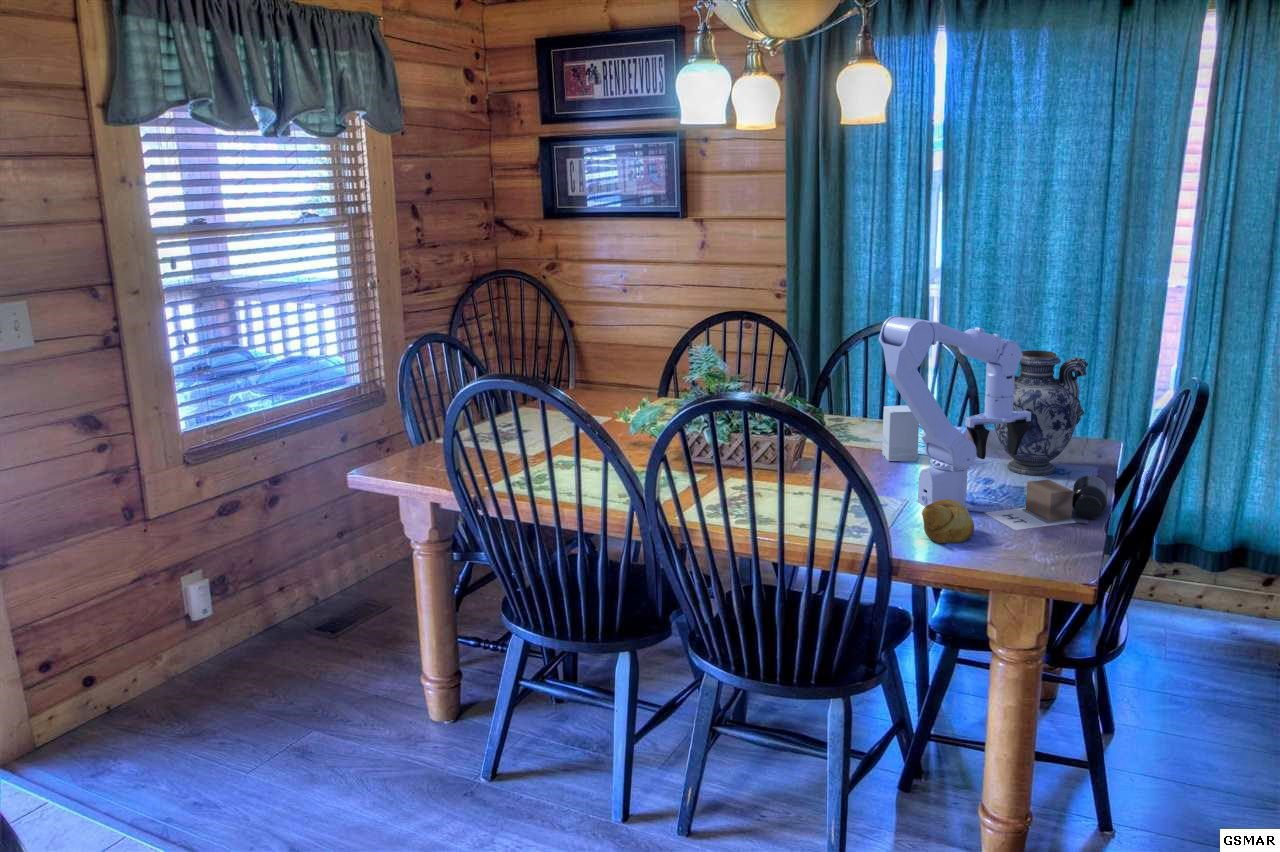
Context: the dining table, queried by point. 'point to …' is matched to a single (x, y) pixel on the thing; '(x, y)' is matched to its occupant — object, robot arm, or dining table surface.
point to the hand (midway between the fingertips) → (996, 456)
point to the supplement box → (900, 434)
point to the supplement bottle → (1089, 496)
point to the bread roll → (947, 522)
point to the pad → (1044, 519)
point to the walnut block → (1049, 500)
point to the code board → (1020, 519)
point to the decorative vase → (1044, 410)
